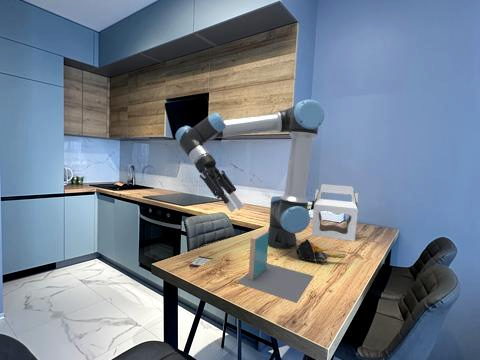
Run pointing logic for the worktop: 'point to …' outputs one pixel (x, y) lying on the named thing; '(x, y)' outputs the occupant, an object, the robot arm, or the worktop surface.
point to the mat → (279, 282)
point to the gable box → (335, 207)
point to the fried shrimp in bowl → (314, 252)
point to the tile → (258, 254)
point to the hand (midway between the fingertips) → (237, 208)
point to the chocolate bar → (200, 261)
